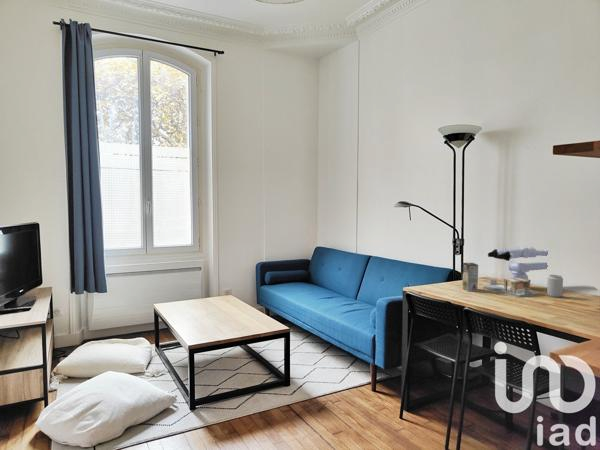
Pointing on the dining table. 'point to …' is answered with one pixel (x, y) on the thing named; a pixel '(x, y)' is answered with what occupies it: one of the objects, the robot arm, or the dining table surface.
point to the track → (509, 291)
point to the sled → (494, 282)
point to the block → (517, 285)
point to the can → (555, 286)
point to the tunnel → (525, 283)
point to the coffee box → (470, 277)
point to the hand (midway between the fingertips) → (492, 255)
